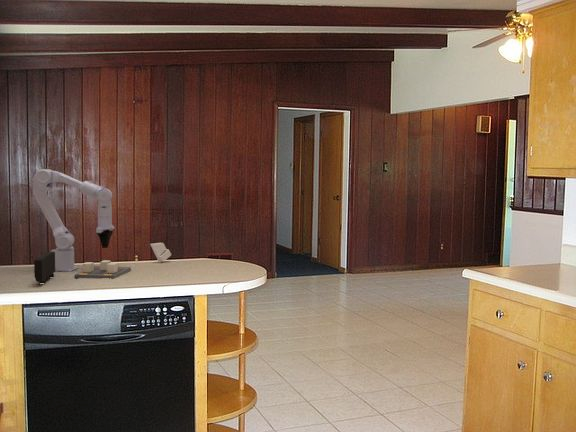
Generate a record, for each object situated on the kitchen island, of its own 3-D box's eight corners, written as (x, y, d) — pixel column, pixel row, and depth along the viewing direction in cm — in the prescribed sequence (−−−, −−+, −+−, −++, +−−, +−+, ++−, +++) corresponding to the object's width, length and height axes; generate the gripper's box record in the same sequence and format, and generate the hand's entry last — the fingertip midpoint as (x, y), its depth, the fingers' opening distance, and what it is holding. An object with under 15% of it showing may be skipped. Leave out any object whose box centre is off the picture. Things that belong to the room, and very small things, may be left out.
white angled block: (150, 262, 268) (150, 243, 268) (166, 259, 276) (166, 242, 275) (155, 263, 266) (155, 244, 265) (171, 260, 274) (171, 242, 273)
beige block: (82, 272, 231) (82, 263, 231) (86, 270, 235) (86, 262, 235) (89, 272, 231) (89, 263, 231) (93, 270, 235) (93, 262, 235)
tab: (100, 270, 237) (100, 261, 236) (103, 268, 241) (103, 260, 240) (107, 270, 236) (107, 262, 236) (110, 268, 240) (110, 260, 240)
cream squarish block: (106, 272, 231) (106, 264, 230) (110, 271, 235) (110, 262, 234) (114, 273, 230) (114, 264, 230) (117, 271, 234) (117, 263, 234)
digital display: (47, 275, 232) (47, 251, 231) (56, 275, 232) (55, 251, 232) (33, 286, 211) (32, 259, 210) (42, 286, 212) (42, 259, 211)
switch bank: (74, 278, 227) (74, 274, 227) (94, 269, 247) (94, 265, 247) (113, 279, 226) (113, 275, 226) (130, 270, 246) (130, 266, 246)
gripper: (107, 218, 239) (107, 250, 241) (119, 215, 254) (120, 245, 255) (91, 217, 240) (91, 249, 241) (104, 215, 254) (104, 245, 255)
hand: (105, 247), depth 248 cm, fingers closed
